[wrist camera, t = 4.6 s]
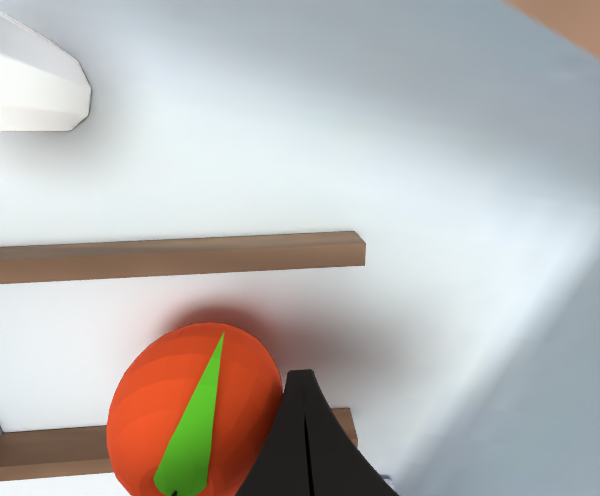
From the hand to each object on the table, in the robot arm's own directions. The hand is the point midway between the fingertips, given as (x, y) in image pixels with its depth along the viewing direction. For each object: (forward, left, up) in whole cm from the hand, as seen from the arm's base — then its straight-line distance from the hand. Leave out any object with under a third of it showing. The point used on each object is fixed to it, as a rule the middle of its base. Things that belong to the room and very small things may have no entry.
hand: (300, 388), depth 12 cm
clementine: (0, +4, -4) cm, 5 cm away
